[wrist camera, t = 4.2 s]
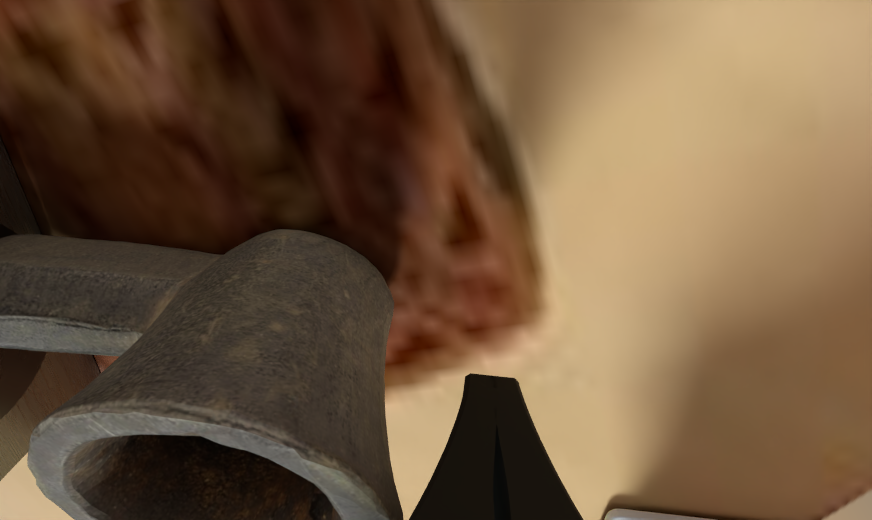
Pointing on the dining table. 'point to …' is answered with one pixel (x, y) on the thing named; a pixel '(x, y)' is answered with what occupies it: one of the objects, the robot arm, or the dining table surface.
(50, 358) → the valve
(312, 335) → the pipe
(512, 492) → the robot arm
